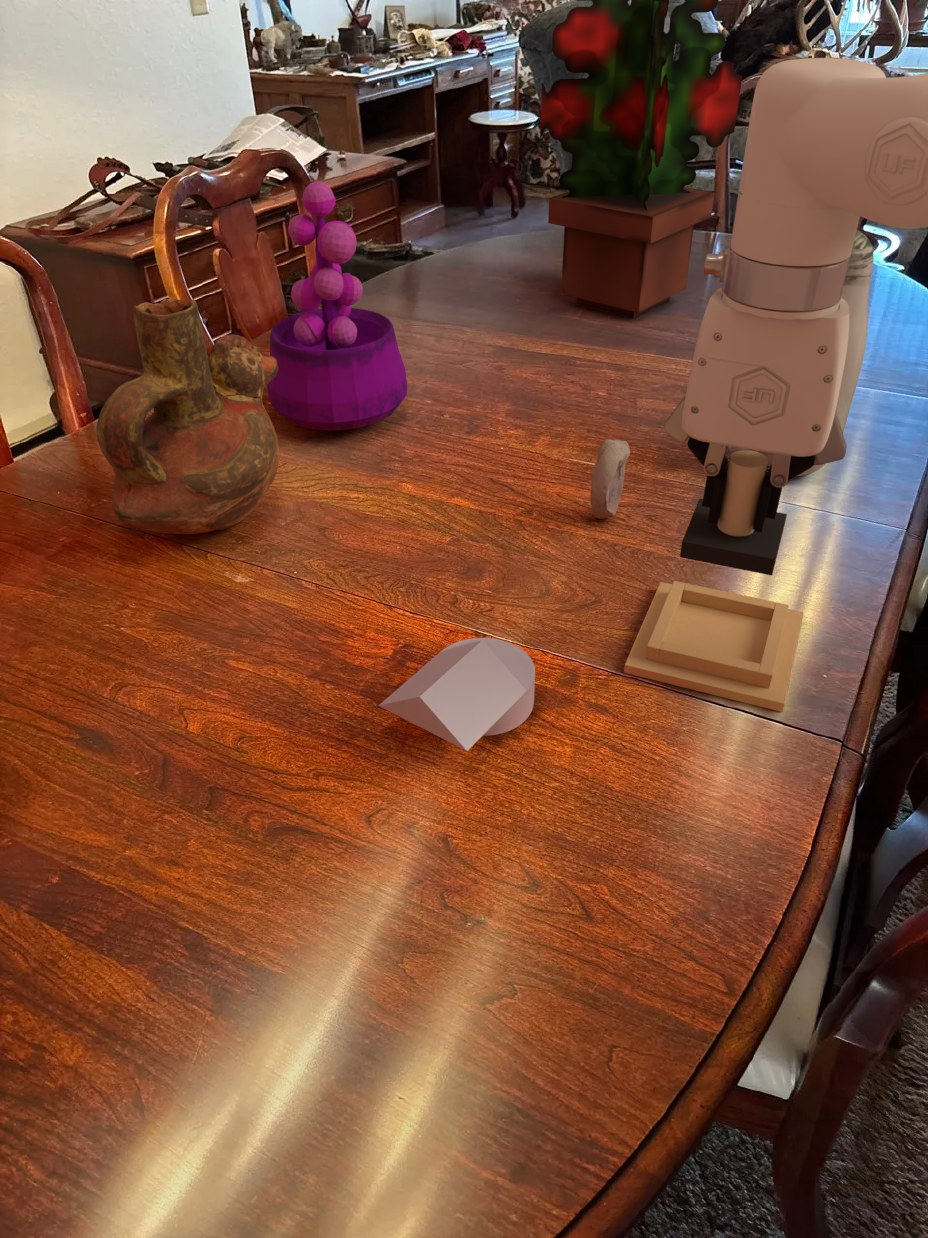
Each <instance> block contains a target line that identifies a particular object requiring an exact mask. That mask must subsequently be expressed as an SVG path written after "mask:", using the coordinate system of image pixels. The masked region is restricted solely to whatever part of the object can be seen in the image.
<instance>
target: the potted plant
mask: <svg viewBox="0 0 928 1238" xmlns="http://www.w3.org/2000/svg"><path fill="white" fill-rule="evenodd" d="M575 1H577V2H581V1H587V2H589V1H591V2H592V4H591V5H590V6H576V7H572V8H571V9H570V10H569V11H568V13H567V15H566V19H564V20H563V21H562V22H559V23H557V24H556V25H555V27H554V28H553V31H552V41H551V51H552V54H553V55H554V57H555V58H557V59H558V60H562V61H563V63H564V67H565V69H566V70H567V72H569V73H572V74H587V75H588V76H587V77H584V78H560V79H557V80H555V81H554V82H553V83H552V84H551V87H550V90H549V92H547V90H546V87H545V84H544V83H543V82H541V96H540V97H541V98H540V100H541V102H540V128H539V129H540V131H539V133H540V134H539V138H540V139H541V138H542V137H543V135H544V132H545V131H546V129H547V130H548V133H549V136H550V137H551V138H552V139H553V140H556V141H558V142H560V145H561V149H562V150H563V151H564V152H566V153H570V154H571V168H570V169H568V170H565V171H563V172H562V173H561V174H560V177H559V180H558V182H559V185H560V187H561V188H562V189H564V190H567V191H566V192H564V193H560V194H558V195H555V196H552V197H549V198H548V217H547V220H548V221H547V223H548V224H549V225H554V226H560V227H564V231H563V248H562V249H563V250H562V268H561V270H562V271H561V291H560V294H561V295H564V296H569V297H572V298H576V301H575V303H576V304H575V305H577V306H581V307H585V308H589V309H594V310H598V311H601V312H606V313H609V314H614V315H618V316H621V317H626V318H629V319H635V318H637V317H639V316H641V315H644V314H646V313H648V312H649V311H651V310H652V309H655V308H657V307H659V306H661V305H662V304H664V303H666V302H669V301H670V298H671V297H672V296H674V295H676V294H678V293H679V292H682V291H684V290H685V289H686V288H687V283H688V274H689V267H690V260H691V259H690V258H691V251H692V243H693V237H694V228H695V225H696V224H699V223H701V222H703V221H706V220H709V219H710V218H712V213H713V207H714V199H715V191H710V190H704V189H700V188H699V189H697V188H691V187H686V186H689V185H691V184H693V183H694V181H696V178H697V170H696V169H695V168H694V167H693V166H690V165H688V164H687V163H688V162H691V161H693V160H695V159H696V158H697V157H698V155H699V153H700V146H699V144H698V142H696V141H693V140H691V139H690V138H691V137H700V136H701V137H702V136H703V137H704V138H705V141H706V144H707V146H709V147H710V148H713V149H716V148H718V147H720V146H722V144H723V143H724V142H725V138H726V137H727V136H728V135H731V134H733V133H735V129H736V123H737V115H738V109H739V102H740V95H741V88H742V81H743V75H741V74H739V73H737V72H736V71H735V67H734V66H735V65H734V64H733V62H731V61H729V60H722V61H720V62H719V63H718V64H717V65H716V67H715V69H714V72H713V73H711V72H710V71H711V65H712V64H711V63H712V58H713V57H714V56H717V55H719V54H721V53H722V52H723V51H724V49H725V47H726V45H727V41H726V37H725V36H724V34H723V33H720V32H704V30H703V26H702V23H701V22H700V20H698V19H696V18H694V17H693V16H692V15H694V14H701V13H703V14H705V13H710V12H712V11H714V10H715V9H716V8H717V7H718V3H719V1H720V0H684V2H683V3H681V4H679V5H677V6H675V7H674V8H673V9H672V11H671V13H670V16H669V26H668V32H667V33H666V32H665V24H666V18H667V16H668V11H669V4H670V0H575ZM629 2H630V3H629ZM676 44H679V51H678V52H679V53H678V59H677V60H675V50H676Z"/></svg>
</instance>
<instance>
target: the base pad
mask: <svg viewBox="0 0 928 1238" xmlns="http://www.w3.org/2000/svg"><path fill="white" fill-rule="evenodd" d="M789 607H790V604H787V603H781V602H777V601H776V602H775V601H773V600H767V599H762V598H757V597H753V596H748V595H744V594H740V593H735V592H730V591H726V590H725V591H724V590H721V589H720V590H719V589H715V588H711V587H706V586H701V585H697V584H692V583H688V582H687V583H685V582H682V581H677V580H673V582H672V583H669V582H665V581H660V582H659V583H658V586H657V589H656V591H655V593H654V596H653V597H652V600H651V603H650V605H649V607H648V608H647V609H648V610H647V612H646V613H645V617H644V619H643V620H642V623H641V626H640V628H639V630H638V633H637V635H636V638H635V640H634V642H633V644H632V647H631V649H630V650H629V653H628V656H627V658H626V660H625V663H624V667H623V673H624V674H627V675H630V676H631V675H632V676H635V677H640V678H644V679H648V680H652V681H655V682H660V683H664V684H668V685H672V686H676V687H681V688H684V689H687V690H692V691H696V692H699V693H704V694H708V695H712V696H717V697H720V698H724V699H729V700H733V701H737V702H740V703H744V704H748V705H752V706H757V707H760V708H765V709H769V710H773V711H777V712H780V713H782V712H783V711H784V709H785V705H786V701H787V694H788V690H789V686H790V681H791V677H792V671H793V667H794V663H795V658H796V652H797V647H798V642H799V637H800V633H801V628H802V623H803V618H804V614H805V613H804V611H800V610H795V609H791V608H789Z"/></svg>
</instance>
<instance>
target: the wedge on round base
mask: <svg viewBox="0 0 928 1238" xmlns="http://www.w3.org/2000/svg"><path fill="white" fill-rule="evenodd" d="M535 687H536V667H535V664H534V662H533V660H532V658H531V657H530V655H529V654H528V653H527V652H526V651H525V650H524V649H522V647H519V646H518V645H516V644H514V643H511V642H509V641H507V640H504V639H498V638H494V637H493V638H491V637H473V638H466V639H462V640H460V641H456V642H454V643H452V644H449V645H448V646H446V647H444V648H443V649H441V651H439V652H438V653H437V654H436V655H435V656H434V657H432V658H431V659H430V660H429V661H428V662H427V663H425V665H423V666H422V667H421V668H420V669H419V670H417V671H416V672H415V673H414V674H413V675H411V676H410V678H408V679H407V680H406V681H405V682H404V683H403V684H401V686H399V687H398V688H397V689H395V691H394V692H392V693H391V694H390V695H389V696H388V697H387V698H386V699H384V700H383V701H382V702H381V703H380V704H378V707H380V708H382V709H384V710H386V711H387V712H390V713H392V714H394V715H396V716H398V717H400V718H402V719H403V720H405V721H408V722H409V723H411V724H412V725H414V726H417V727H419V728H421V729H423V730H425V731H427V732H429V733H431V734H432V735H434V736H437V737H439V738H441V739H443V740H444V741H446V742H449V743H450V744H452V745H454V746H456V747H458V748H460V749H462V750H464V751H466V752H468V751H469V750H470V749H471V748H473V746H474V745H475V744H476V743H477V742H478V741H479V740H480V739H481V738H482V737H488V736H490V737H491V736H495V735H501V734H504V733H508V732H509V731H512V730H514V729H516V728H518V727H519V726H520V725H522V724H523V723H524V722H525V721H527V719H528V718H529V717H530V715H531V714H532V711H533V708H534V705H535V689H536V688H535Z"/></svg>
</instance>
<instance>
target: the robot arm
mask: <svg viewBox="0 0 928 1238" xmlns="http://www.w3.org/2000/svg"><path fill="white" fill-rule="evenodd" d="M861 218H863V219H866V220H867V221H868V220H869V221H871V222H875V223H877V224H880V225H882V226H887V227H891V228H895V229H896V228H897V229H902V230H917V229H924V228H928V72H924V73H920V74H916V75H915V74H914V75H908V76H897V77H887V76H886V73H885V72H884V71H883V70H882V69H881V68H880V67H879V66H877V65H875V64H872V63H870V62H866V61H861V60H856V59H849V58H848V59H847V58H836V57H835V58H833V57H805V58H795V59H794V58H793V59H788V60H783V61H780V62H777V63H775V64H772V65H771V66H769V67H768V68H767V69H766V70H764V71H763V73H762V74H761V76H760V77H759V79H758V81H757V83H756V86H755V89H754V93H753V99H752V104H751V109H750V116H749V121H748V129H747V136H746V142H745V147H744V154H743V161H742V167H741V174H740V179H739V186H738V194H737V199H736V206H735V213H734V219H733V225H732V232H731V239H730V246H729V248H726V249H725V250H724V252H722V251H719V252H718V254H717V253H707V254H706V257H705V261H704V266H703V274H704V275H709V276H710V275H713V276H714V278H719V283H721V284H722V285H721V287H720V288H718V289H716V290H714V292H713V294H711V296H709V300H708V302H707V305H706V308H705V310H704V314H703V317H702V320H701V323H700V326H699V330H698V334H697V337H696V341H695V347H694V351H693V356H692V360H691V364H690V365H691V366H690V370H689V374H688V380H687V386H686V390H685V395H684V396H683V398H682V399H681V400H680V401H679V402H678V404H677V406H676V407H675V408H674V410H673V411H672V413H671V414H670V415H669V417H667V419H666V421H665V423H664V426H663V429H664V431H665V433H666V434H668V435H669V436H671V437H672V438H674V439H675V440H677V441H679V442H680V443H682V444H684V445H686V446H687V448H688V449H689V451H690V452H691V453H692V455H694V457H695V458H696V459H697V460H698V462H699V463H700V464H701V466H702V467H703V468H702V469H703V470H702V471H703V473H704V474H705V475H706V479H705V485H704V491H703V497H702V499H703V502H702V506H705V507H710V510H709V516H708V523H713V524H714V523H715V522H718V519H719V515H720V510H721V504H722V499H723V493H724V488H725V482H726V477H727V469H728V463H729V458H728V457H727V455H726V454H727V452H728V447H731V448H738V449H743V450H750V451H755V452H758V451H762V452H768V453H773V461H772V465H771V466H770V468H769V467H768V470H766V475H765V479H764V481H763V484H762V487H761V492H760V497H759V501H758V506H757V511H756V516H755V521H754V526H753V529H755V531H756V532H762V530H763V527H764V523H765V520H766V518H771V519H775V517H776V513H777V512H778V508H779V504H780V499H781V496H782V491H783V488H784V487H785V486H786V485H787V484H788V482H789V481H791V480H792V479H795V478H797V477H799V476H798V475H800V474H801V473H803V472H805V471H807V470H808V469H810V468H811V467H812V466H815V465H822V464H825V465H826V464H830V463H834V462H838V461H841V460H843V459H844V458H845V457H846V453H847V443H846V438H845V435H844V432H842V428H841V425H840V422H839V419H838V415H837V412H836V407H837V402H838V397H839V392H840V386H841V381H842V376H843V371H844V366H845V360H846V353H847V346H848V335H849V305H848V303H847V302H846V301H845V300H844V299H842V298H841V295H842V291H843V286H844V282H845V278H846V273H847V269H848V265H849V261H850V256H851V252H852V248H853V244H854V240H855V235H856V231H857V230H858V226H859V222H860V219H861Z"/></svg>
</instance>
